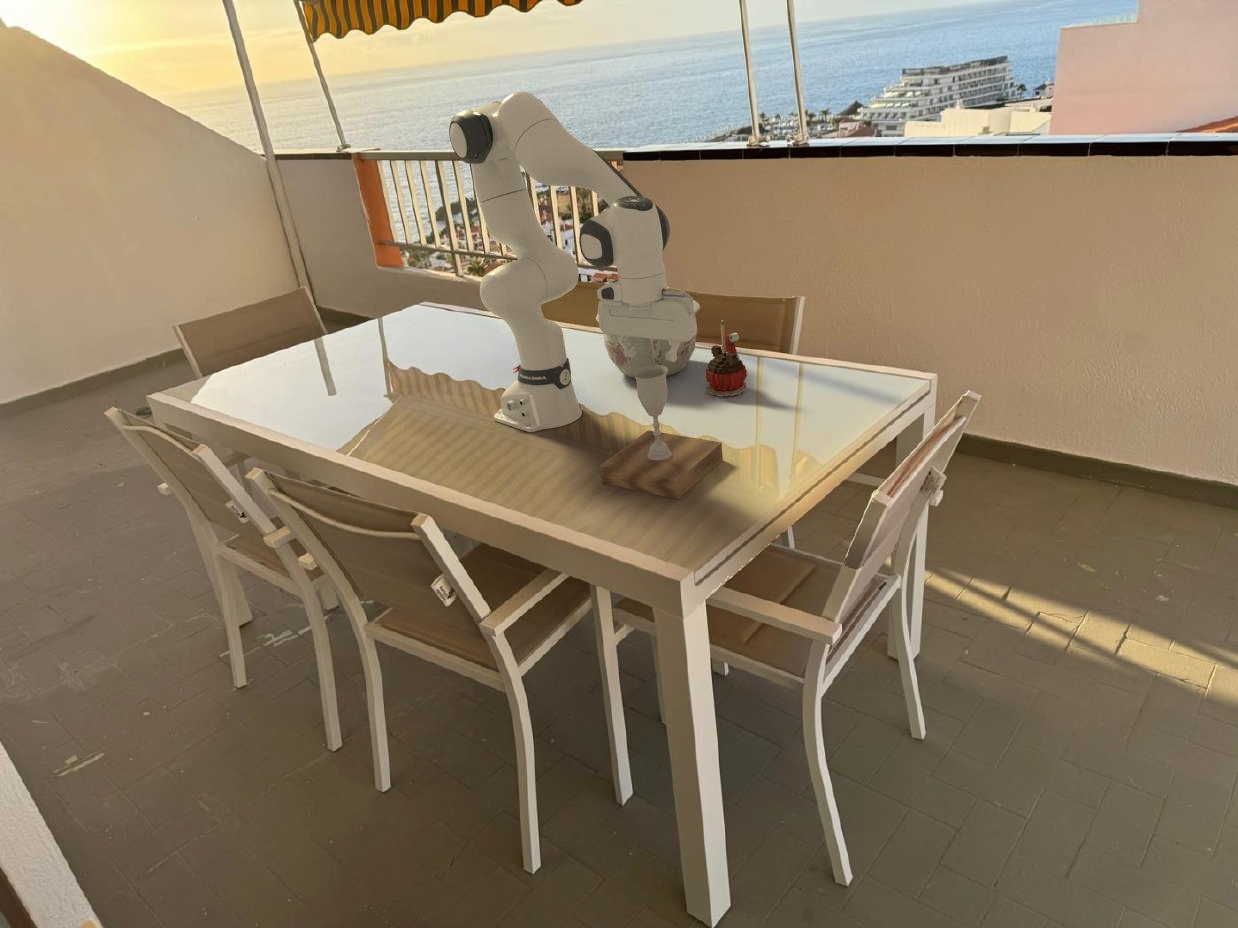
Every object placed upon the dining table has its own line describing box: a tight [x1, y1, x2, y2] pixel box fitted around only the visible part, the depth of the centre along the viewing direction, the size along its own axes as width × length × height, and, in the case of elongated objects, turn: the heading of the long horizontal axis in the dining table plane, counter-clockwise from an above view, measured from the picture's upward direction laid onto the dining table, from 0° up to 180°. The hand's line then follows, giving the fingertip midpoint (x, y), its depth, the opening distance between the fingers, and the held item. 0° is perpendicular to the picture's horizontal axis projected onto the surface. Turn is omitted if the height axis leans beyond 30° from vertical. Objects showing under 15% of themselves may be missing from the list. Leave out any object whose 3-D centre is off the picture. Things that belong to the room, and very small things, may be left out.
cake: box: [705, 319, 748, 397], centre depth 204 cm, size 11×9×18 cm
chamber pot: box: [595, 299, 701, 379], centre depth 223 cm, size 28×28×21 cm
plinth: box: [599, 429, 724, 500], centre depth 172 cm, size 18×18×4 cm
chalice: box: [633, 365, 672, 461], centre depth 167 cm, size 7×7×18 cm
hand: (650, 358), depth 162 cm, fingers open, 8 cm apart
